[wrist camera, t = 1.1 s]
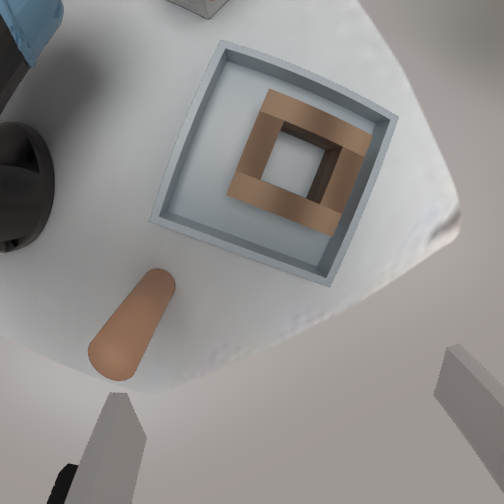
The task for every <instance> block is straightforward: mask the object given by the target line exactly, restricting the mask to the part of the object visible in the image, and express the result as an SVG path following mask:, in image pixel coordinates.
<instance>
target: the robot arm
mask: <svg viewBox="0 0 504 504" xmlns="http://www.w3.org/2000/svg"><path fill="white" fill-rule="evenodd" d="M63 14H64V8H63V3H62V0H0V115H1V113H2V111H3V109H4V108H5V106H6V104H7V103H8V101H9V99H10V97H11V96H12V94H13V93H14V91H15V89H16V88H17V86H18V85H19V83H20V82H21V80H22V79H23V77H24V76H25V75H26V73H27V72H28V70H29V69H30V68H32V67H33V66H34V65H35V63H36V59H37V57H38V56H39V54H40V53H41V51H42V50H43V48H44V47H45V45H46V44H47V43H48V41H49V40H50V38H51V37H52V36H53V34H54V33H55V32H56V30H57V29H58V28H59V26H60V24H61V22H62V19H63ZM53 195H54V172H53V165H52V160H51V157H50V153H49V151H48V148H47V146H46V144H45V142H44V140H43V139H42V137H41V136H40V135H39V134H38V133H37V132H36V131H35V130H34V129H33V128H31V127H30V126H28V125H26V124H22V123H16V122H0V253H7V252H12V251H15V250H17V249H19V248H22V247H24V246H26V245H28V244H29V243H31V242H32V241H33V240H34V239H35V238H36V237H37V236H38V235H39V234H40V232H41V231H42V229H43V227H44V226H45V224H46V221H47V219H48V216H49V214H50V210H51V206H52V201H53ZM434 396H435V398H436V399H437V400H438V402H439V403H440V404H441V406H442V407H443V408H444V410H445V411H446V412H447V414H448V415H449V416H450V418H451V419H452V420H453V422H454V423H455V424H456V426H457V427H458V429H459V430H460V431H461V433H462V434H463V435H464V437H465V438H466V440H467V441H468V442H469V444H470V445H471V446H472V448H473V449H474V451H475V452H476V454H477V455H478V457H479V458H480V459H481V461H482V462H483V464H484V465H485V467H486V468H487V470H488V471H489V473H490V474H491V475H492V477H493V478H494V480H495V481H496V483H497V484H498V486H499V487H500V489H501V490H502V492H503V493H504V386H503V385H502V384H501V383H500V382H499V381H498V380H497V379H496V378H495V377H494V376H493V375H492V374H491V373H490V372H489V371H488V370H487V369H486V368H485V367H484V366H483V365H482V364H481V363H479V362H478V361H477V360H476V359H475V358H474V357H473V356H472V355H471V354H470V353H469V352H468V351H467V350H466V349H465V348H464V347H463V346H461V345H460V344H457V345H454V346H450V347H447V348H446V352H445V356H444V360H443V364H442V368H441V371H440V375H439V378H438V382H437V385H436V389H435V391H434ZM146 439H147V437H146V435H145V433H144V431H143V429H142V427H141V424H140V422H139V420H138V418H137V415H136V413H135V411H134V409H133V407H132V404H131V402H130V399H129V397H128V394H127V393H109V396H108V398H107V400H106V402H105V405H104V407H103V409H102V411H101V414H100V416H99V418H98V420H97V423H96V425H95V427H94V430H93V432H92V434H91V437H90V439H89V442H88V444H87V446H86V449H85V451H84V454H83V456H82V459H81V461H80V464H79V465H74V464H67V465H66V466H65V467H64V468H63V469H62V470H61V471H60V473H59V474H58V477H57V479H56V482H55V486H54V487H53V489H52V491H51V493H52V494H51V495H50V496H49V499H48V501H47V504H132V499H133V494H134V490H135V485H136V481H137V476H138V472H139V468H140V464H141V459H142V456H143V452H144V447H145V443H146Z"/></svg>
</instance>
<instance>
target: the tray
mask: <svg viewBox="0 0 504 504" xmlns="http://www.w3.org/2000/svg"><path fill="white" fill-rule="evenodd" d="M269 88H270V89H272V90H275V91H277V92H280V93H282V94H285V95H287V96H290V97H292V98H295V99H297V100H299V101H302V102H304V103H306V104H309V105H311V106H313V107H316V108H318V109H320V110H322V111H324V112H327V113H329V114H331V115H333V116H335V117H337V118H339V119H341V120H343V121H345V122H347V123H349V124H351V125H353V126H355V127H357V128H359V129H361V130H363V131H365V132H367V133H369V134H371V135H373V136H372V139H371V142H370V144H369V147H368V150H367V152H366V155H365V158H364V160H363V163H362V166H361V168H360V171H359V173H358V176H357V178H356V181H355V184H354V186H353V189H352V191H351V193H350V196H349V198H348V201H347V203H346V206H345V208H344V211H343V213H342V215H341V218H340V220H339V223H338V225H337V227H336V230H335V232H334V234H333V237H331V236H329V235H326V234H324V233H321V232H319V231H316V230H314V229H311V228H309V227H306V226H304V225H301V224H299V223H296V222H294V221H291V220H289V219H286V218H284V217H281V216H279V215H276V214H274V213H271V212H268V211H266V210H263V209H261V208H258V207H255V206H253V205H250V204H248V203H245V202H242V201H240V200H237V199H234V198H232V197H229V196H226V194H227V191H228V189H229V186H230V184H231V181H232V178H233V176H234V173H235V171H236V168H237V165H238V163H239V160H240V158H241V155H242V153H243V150H244V148H245V145H246V143H247V140H248V138H249V135H250V133H251V130H252V128H253V126H254V123H255V121H256V118H257V116H258V113H259V111H260V109H261V106H262V104H263V101H264V99H265V97H266V94H267V92H268V90H269ZM398 118H399V117H398V116H397V115H395V114H393V113H391V112H390V111H388V110H386V109H385V108H383V107H381V106H379V105H377V104H376V103H374V102H372V101H370V100H368V99H366V98H364V97H363V96H361V95H359V94H357V93H355V92H353V91H351V90H349V89H347V88H345V87H343V86H341V85H339V84H337V83H334V82H332V81H330V80H328V79H326V78H324V77H321V76H319V75H317V74H315V73H312V72H310V71H308V70H305V69H303V68H301V67H298V66H296V65H293V64H291V63H288V62H286V61H283V60H281V59H278V58H275V57H273V56H270V55H267V54H264V53H261V52H259V51H256V50H253V49H250V48H247V47H244V46H240V45H237V44H234V43H231V42H227V41H224V40H220V42H219V44H218V46H217V49H216V51H215V53H214V55H213V57H212V59H211V61H210V63H209V65H208V67H207V70H206V72H205V74H204V76H203V78H202V81H201V83H200V85H199V87H198V90H197V92H196V94H195V97H194V99H193V101H192V104H191V106H190V109H189V111H188V113H187V116H186V118H185V121H184V123H183V126H182V128H181V131H180V133H179V136H178V138H177V141H176V144H175V146H174V149H173V152H172V154H171V157H170V160H169V163H168V165H167V168H166V171H165V174H164V177H163V180H162V183H161V185H160V188H159V191H158V194H157V197H156V200H155V204H154V207H153V210H152V213H151V216H150V219H149V222H151V223H154V224H157V225H160V226H162V227H165V228H168V229H170V230H173V231H176V232H179V233H181V234H184V235H187V236H189V237H192V238H195V239H198V240H200V241H203V242H206V243H208V244H211V245H214V246H217V247H219V248H222V249H225V250H228V251H230V252H233V253H236V254H239V255H241V256H244V257H247V258H250V259H252V260H255V261H258V262H261V263H263V264H266V265H269V266H272V267H274V268H277V269H280V270H283V271H285V272H288V273H291V274H294V275H296V276H299V277H302V278H305V279H307V280H310V281H313V282H316V283H319V284H321V285H324V286H327V287H330V286H331V284H332V282H333V279H334V277H335V275H336V273H337V271H338V269H339V267H340V264H341V262H342V260H343V258H344V256H345V253H346V251H347V249H348V247H349V244H350V242H351V240H352V237H353V235H354V233H355V230H356V228H357V226H358V223H359V221H360V219H361V216H362V214H363V211H364V209H365V207H366V204H367V202H368V199H369V197H370V194H371V192H372V189H373V187H374V184H375V182H376V179H377V176H378V174H379V171H380V168H381V166H382V163H383V160H384V158H385V155H386V152H387V150H388V147H389V144H390V141H391V138H392V135H393V133H394V130H395V127H396V124H397V121H398ZM324 152H325V150H324V149H322V148H320V147H317V146H315V145H313V144H311V143H308V142H306V141H304V140H301V139H299V138H297V137H294V136H292V135H289V134H287V133H285V132H282V131H280V132H279V135H278V137H277V140H276V142H275V145H274V147H273V150H272V152H271V155H270V157H269V160H268V162H267V165H266V167H265V170H264V172H263V175H262V177H261V180H262V181H265V182H267V183H270V184H272V185H275V186H278V187H280V188H283V189H285V190H287V191H290V192H292V193H295V194H297V195H300V196H302V197H304V198H306V197H307V195H308V192H309V190H310V187H311V185H312V182H313V180H314V177H315V175H316V172H317V170H318V167H319V165H320V162H321V160H322V157H323V155H324Z"/></svg>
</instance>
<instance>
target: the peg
mask: <svg viewBox="0 0 504 504" xmlns="http://www.w3.org/2000/svg"><path fill="white" fill-rule="evenodd" d="M174 291H175V282H174V279H173V277H172V276H171V275H170V274H169V273H168V272H167V271H165V270H162V269H153V270H150V271H149V272H147V273H146V275H145V276H144V277H143V278H142V279H141V281H140V282H139V283H138V284H137V285H136V287H135V288H134V289H133V290H132V291H131V293H130V294H129V295H128V296H127V297H126V299H125V300H124V301H123V302H122V304H121V305H120V306H119V307H118V309H117V310H116V311H115V312H114V314H113V315H112V316H111V317H110V319H109V320H108V321H107V322H106V324H105V325H104V326H103V327H102V329H101V330H100V331H99V333H98V334H97V335H96V336H95V338H94V339H93V340H92V342H91V343H90V345H89V347H88V356H89V360H90V362H91V364H92V365H93V367H94V368H95V369H96V370H97V371H98V372H99V373H100V374H102V375H103V376H105V377H107V378H109V379H111V380H116V381H124V380H127V379H129V378H131V377H132V376H133V375H134V373H135V371H136V369H137V367H138V365H139V363H140V361H141V358H142V356H143V354H144V352H145V350H146V348H147V346H148V344H149V342H150V340H151V338H152V335H153V333H154V331H155V329H156V327H157V325H158V323H159V321H160V319H161V317H162V315H163V313H164V311H165V309H166V307H167V305H168V303H169V301H170V299H171V297H172V295H173V293H174Z"/></svg>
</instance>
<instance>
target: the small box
mask: <svg viewBox="0 0 504 504" xmlns="http://www.w3.org/2000/svg"><path fill="white" fill-rule="evenodd" d="M169 1H171V2H174V3H176V4H178V5H180V6H182V7H184V8H186V9H188V10H190V11H192V12H194V13H196V14H198V15H200V16H202V17H204V18H206V19H210V18H211V17H212V16H213V15H214V14H215V13H216V12H217V11H218V10H219V9H220V8H221V7H222V6H223V5H224V4H225V3H226V2H227V1H228V0H169Z"/></svg>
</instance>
